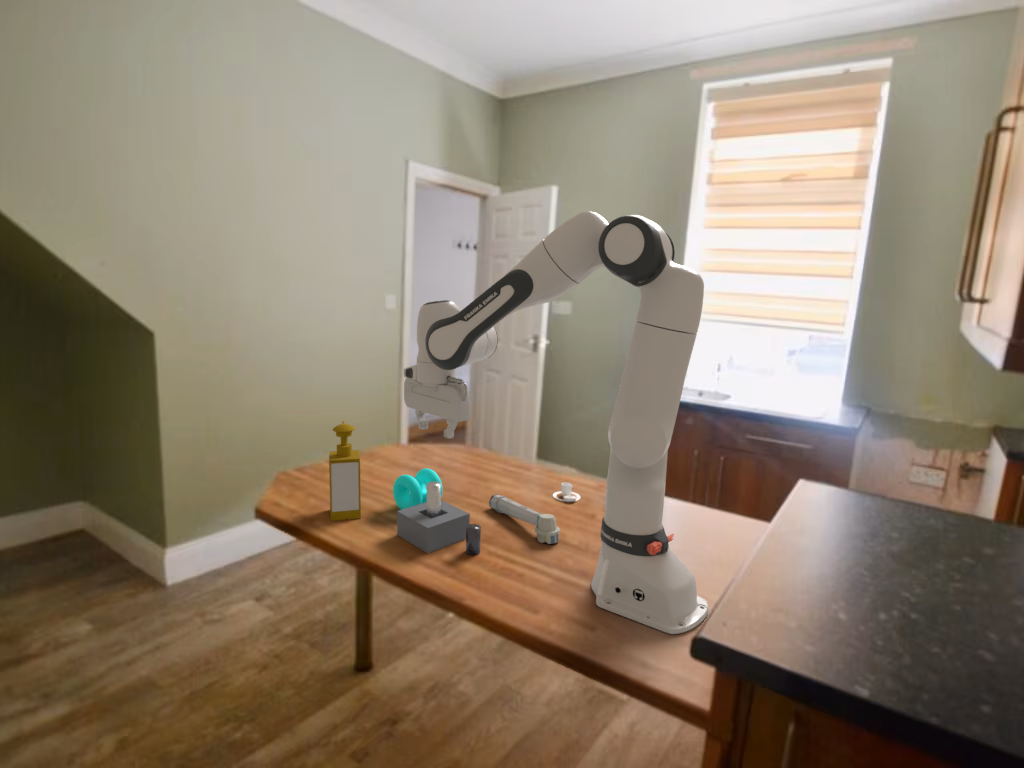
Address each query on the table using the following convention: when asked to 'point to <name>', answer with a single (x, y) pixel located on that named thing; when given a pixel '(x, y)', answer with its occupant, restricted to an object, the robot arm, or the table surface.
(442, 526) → the hole block
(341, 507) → the soap bottle
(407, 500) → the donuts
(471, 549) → the short pin
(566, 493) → the teacup and saucer
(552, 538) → the toothbrush head
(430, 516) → the long pin
